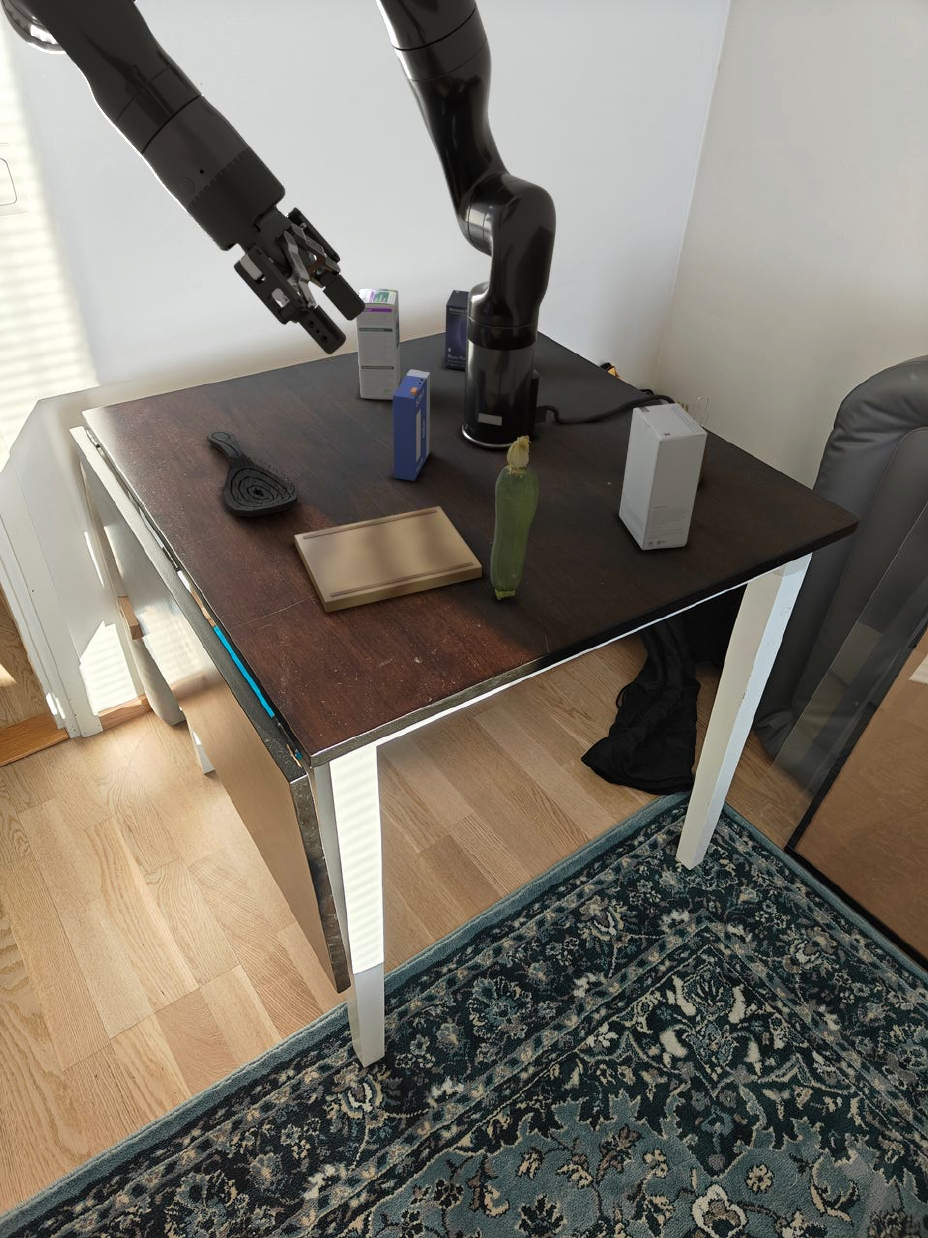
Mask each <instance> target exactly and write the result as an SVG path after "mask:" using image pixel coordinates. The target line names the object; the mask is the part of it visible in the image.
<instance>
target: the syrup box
mask: <svg viewBox="0 0 928 1238" xmlns="http://www.w3.org/2000/svg"><path fill="white" fill-rule="evenodd" d="M358 295H359V297H360V298H361V299H362V300H363V301H364V303H365V309H364V311H363V312H362V313H361V314H359V315H358V316H357V317H356V318H355V326H356V327H355V329H356V344H357V360H358V375H359V378H358V379H359V392H360V398H361V399H370V400H393V394H394V393H395V391H396V390H397V389H398V387H399V386H400V384H401V383H402V370H401V368H402V365H401V338H400V337H401V335H400V334H401V333H400V331H401V330H400V306H399V305H400V304H399V291H398V290H396V289H388V288H360V289H359V291H358Z"/></svg>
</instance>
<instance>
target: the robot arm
mask: <svg viewBox="0 0 928 1238" xmlns="http://www.w3.org/2000/svg"><path fill="white" fill-rule="evenodd" d="M374 1H375V3H376V5H377V6H376V7H377V8H378V11H379V13H380V15H381V16H380V17H381V19H382V21H383V24H384V27H385V30H386V33H387V35H388V38H389V40H390V44H391V46H392V48H393V52H394V53H395V56H396V58H397V61H398V63H399V66H400V68H401V70H402V73H403V75H404V78H405V80H406V82H407V86H408V87H409V89H410V91H411V93H412V96H413V98H414V100H415V104H416V105H417V108H418V111H419V113H420V116H421V118H422V121H423V123H424V126H425V128H426V131H427V133H428V136H429V138H430V140H431V142H432V144H433V148H434V149H435V152H436V155H437V157H438V161H439V163H440V167H441V170H442V173H443V176H444V180H445V184H446V187H447V191H448V194H449V199H450V201H451V205H452V207H453V212H454V216H455V218H456V221H457V225H458V227H459V230H460V232H461V234H462V235H463V237H464V239H465V241H467V243H468V244H469V245H470V246H471V247H473V248H474V249H475V250H477V251H478V252H481V254H484V255H486V256H489V257H491V261H490V270H489V278H488V280H487V281H483V282H479V283H477V284H475V285H474V286H472V287H471V289H470V290H469V291H468V292H469V295H468V308H467V339H466V364H465V370H464V390H463V391H464V393H463V394H464V395H463V414H462V415H463V416H462V426H461V433H462V437H463V438H464V439H465V440H466V441H467V442H468V443H470V444H472V445H474V446H476V447H478V448H482V449H488V450H509V448H510V447H511V445H512V444H514V442H515V441H517V440H518V439H517V438H520V437H522V436H529V440H530V439H531V440H532V439H534V438H535V437H534V436H535V427H536V424H539V423H546V422H547V415H548V411H549V412H552V413H553V417H554V420H555V422H557V423H558V424H561V425H569V424H585V423H590V422H594V421H597V420H602V419H605V418H609V417H612V416H614V415H616V414H618V413H620V412H622V411H623V410H625V409H627V408H629V407H632V406H635V405H640V404H643V403H647V402H652V401H655V400H663V401H666V402H667V404H675V403H676V402H675V400H674V399H673V398H671V397H670V396H669V395H666V394H653V395H648V396H644V397H641V398H636V399H632V400H629V401H626V402H624V403H622V404H620V405H619V406H617V407H615V408H613V409H611V410H609V411H606V412H602V413H598V414H594V415H591V416H587V417H583V418H579V419H565V418H562V417H560V412H559V410H558V408H557V407H555V406H554V405H550V404H547V403H546V402H545V401H544V400H543V399H542V398H541V397H540V396H539V386H540V374H539V372H538V371H536V369H535V362H536V352H537V351H536V350H537V341H538V339H537V338H538V330H539V329H538V328H539V319H540V318H539V317H540V308H541V306H542V305H541V304H542V303H543V300H544V299H545V296H546V293H547V290H548V287H549V282H550V274H551V268H552V261H553V255H554V248H555V241H556V234H557V233H556V232H557V211H556V206H555V203H554V199H553V197H552V196H551V194H550V193H549V191H548V190H546V189H545V188H544V187H542V186H541V185H538V184H537V183H534V182H531V181H528V180H526V179H523V178H520V177H518V176H515V175H513V174H511V172H510V171H509V170H508V169H507V167H506V165H505V163H504V161H503V159H502V157H501V154H500V151H499V149H498V146H497V143H496V141H495V138H494V135H493V133H492V128H491V124H490V118H489V103H490V96H491V84H492V72H493V71H492V70H493V69H492V66H493V65H492V64H493V63H492V54H491V53H492V52H491V47H490V43H489V40H488V39H489V38H488V35H487V33H486V29H485V26H484V23H483V20H482V17H481V14H480V10H479V7H478V3H477V1H476V0H374ZM136 2H137V0H0V4H1V8H2V10H3V12H4V15H5V17H6V19H7V21H8V23H9V25H10V26H11V28H12V29H13V30H14V31H15V33H16V34H17V35H18V36H19V37H20V38H21V39H22V40H23V41H25V42H26V43H27V44H28V45H30V46H31V47H33V48H35V49H37V50H40V51H42V52H45V53H49V54H55V55H56V54H57V55H59V54H60V55H62V54H63V55H64V54H66V56H67V57H68V58H69V59H70V61H71V62H72V63H73V64H74V65H75V66H76V67H77V69H78V70H79V71H80V73H81V74H82V75H83V77H84V79H85V80H86V82H87V85H88V87H89V90H90V92H91V93H90V94H91V95H92V98H93V100H94V102H95V104H96V105H97V108H99V110H100V112H101V113H102V114H103V116H104V117H105V118H106V120H108V122H109V123H110V124H111V125H112V126H113V128H115V130H116V131H117V132H118V133H119V134H120V135H121V137H123V138H124V140H125V141H126V142H127V143H128V144H129V145H130V146H131V148H132V149H133V150H134V151H135V152H136V153H137V154H138V155H139V156H140V157H141V158H142V160H143V161H144V162H145V164H146V165H147V166H148V167H149V169H150V170H151V172H152V173H153V174H154V176H155V177H156V179H157V180H158V181H159V183H160V184H161V185H162V187H163V188H164V189H165V190H166V191H167V192H168V193H169V194H170V195H171V196H172V197H173V199H174V200H175V201H176V202H177V203H178V204H179V205H180V206H181V208H182V209H183V210H184V211H185V212H186V213H187V215H189V217H191V219H192V220H193V221H194V222H195V223H196V224H197V225H198V227H200V229H201V230H202V231H203V232H204V233H205V234H206V236H208V237H209V239H210V240H211V241H212V242H213V243H214V244H215V246H217V248H218V249H219V250H221V251H222V252H228V251H230V250H232V249H233V248H234V247H235V246H236V245H238V246H239V247H240V248H241V250H242V251H243V253H244V254H243V255H242V256H241V257H240V258H239V259H238V260H237V261H236V262H235V263H234V264H233V269H234V271H235V272H236V274H237V275H238V276H239V277H240V278H241V279H242V281H243V282H244V283H245V284H246V285H247V286H248V287H249V289H250V290H251V291H252V292H253V293H254V295H256V297H257V298H258V299H259V300H260V301H261V302H262V304H263V305H264V306H265V307H266V308H267V309H268V311H269V312H270V313H271V314H272V315H273V316H274V317H275V319H276V320H277V322H279V323H280V324H281V325H284V326H286V325H287V324H289V322H292V323H293V324H295V325H296V324H298V323H299V325H300V326H301V327H302V328H303V329H304V330H305V332H306V333H307V334H308V335H309V336H310V337H311V338H312V340H313V341H315V343H316V344H317V345H318V346H319V347H320V348H321V350H323V352H324V353H325V354H327V355H333V354H334V353H335V352H337V351H338V350H339V349H340V348H341V347H342V346H344V345H345V344H346V343H345V342H346V341H347V335H346V333H344V332H343V331H342V329H341V328H340V327H339V326H338V324H336V322H335V321H334V320H333V319H332V318H331V317H330V316H329V315H328V313H327V312H326V310H324V309H323V307H321V305H320V304H317V301H316V299H315V297H314V295H313V293H312V291H311V289H310V287H309V284H310V283H312V284H314V285H315V286H316V287H318V288H320V289H323V290H322V293H323V294H324V295H325V296H326V298H327V299H328V300H329V301H330V302H331V303H332V304H333V306H334V307H335V308H336V309H337V310H338V311H339V313H340V314H341V315H342V316H343V317H344V318H345V319H346V320H347V321H349V322H352V321H353V320H356V317H357V316H358V315H359V314H361V313H362V312H363V311H364V309H365V303H364V301H363V300H362V299H361V298H360V297H359V293H357V292H356V291H355V290H354V288H353V287H352V286H351V284H350V283H348V281H347V280H346V279H345V277H344V276H343V275H342V274H340V273H341V272H342V271H341V267H340V265H339V263H340V261H341V257H340V255H339V253H338V252H337V251H336V250H335V248H333V247H332V246H331V244H330V243H329V242H328V241H327V240H326V239H325V237H323V235H322V234H321V233H320V232H319V231H318V230H317V228H316V227H315V226H314V225H313V224H312V223H311V221H310V220H309V219H308V218H307V217H306V216H305V214H304V213H303V212H302V211H301V209H300V208H298V207H293V208H292V209H291V210H290V211H289V212H287V213H286V214H284V213H283V212H282V211H281V210H280V209H278V207H277V205H278V204H279V203H280V202H281V201H282V200H283V199H284V198H285V196H286V188H285V186H284V185H283V184H282V183H281V181H280V180H279V179H278V178H277V176H276V175H275V174H274V173H273V172H272V170H271V169H270V168H269V167H268V166H267V165H266V164H265V162H264V161H263V160H262V158H261V157H260V156H259V155H258V154H257V153H256V151H255V150H254V149H253V147H251V145H250V144H249V143H248V142H247V141H246V139H245V138H244V137H243V136H242V135H241V133H240V132H239V131H238V130H237V128H236V127H235V126H234V125H233V123H231V121H230V120H229V119H228V118H227V117H226V116H225V115H224V114H223V113H222V112H221V111H220V110H219V109H218V108H216V106H214V105H213V104H212V103H211V102H210V101H209V100H208V98H206V97H205V95H203V93H202V92H201V91H200V90H199V88H198V87H197V86H196V84H195V83H193V81H192V80H191V79H190V78H189V76H188V75H187V74H186V73H185V72H184V70H183V69H182V68H181V67H180V65H178V63H177V62H176V61H175V59H174V58H173V57H172V56H171V54H169V53H168V52H167V51H166V50H165V49H164V48H163V46H162V45H161V43H159V41H158V40H157V38H156V36H155V35H154V33H153V32H152V30H151V28H150V26H149V24H148V22H147V21H146V19H145V17H144V16H143V14H142V12H141V11H140V9H139V7H138V6H137V5H136ZM279 302H280V303H279ZM280 304H281V305H280Z"/></svg>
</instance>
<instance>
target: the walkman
mask: <svg viewBox="0 0 928 1238" xmlns="http://www.w3.org/2000/svg"><path fill="white" fill-rule="evenodd" d="M430 415H431V372H430V371H422V370H421V369H420V370H419V369H412V368H411V369H409V370H408V371H407V373H406V375H405V376H404V378H403V379H402V380H401V384H400V386H399V387H398V389H397V390H396V391H395V393H394V394H393V399H392V423H393V424H392V425H393V426H392V427H393V432H392V433H393V476H394V479H400V480H405V481H413V482H415V481H416V479H417V477H418V475H419V473H420V472H421V469H422V468H423V466H424V465H425V462H426V460H427V459H428V456H429V454H430V431H431V429H430V428H431V424H430V421H431V420H430V419H431V416H430Z"/></svg>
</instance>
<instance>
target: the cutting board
mask: <svg viewBox="0 0 928 1238" xmlns="http://www.w3.org/2000/svg"><path fill="white" fill-rule="evenodd" d="M294 544H295V548H296V549H297V552H298V554H299V557H300V558H301V560H302V563H303V565H304V568H305V569H306V571H307V573H308V576H309V578H310V580H311V582H312V584H313V587H314V589H315V591H316V593H317V595H318V598H319V599H320V602H321V604H322V607H323V608H324V611H325V613H327V614H329V613H333V612H336V611H341V610H345V609H349V608H354V607H359V606H362V605H367V604H372V603H376V602H379V601H384V600H388V599H393V598H397V597H401V596H405V595H409V594H414V593H419V592H423V591H427V590H431V589H436V588H440V587H444V586H449V585H452V584H453V585H454V584H457V583H462V582H466V581H470V580H474V579H479V578H482V576H483V566H482V564H481V563H480V561H479V560H478V558H477V557H476V556H475V554H474V552H473V551H472V550H471V548H470V547H469V546H468V544H467V542H465V540H464V538H463V537H462V536H461V534H460V532H459V531H458V530H457V528H456V527H455V526H454V524H453V523H452V522H451V521H450V519H449V517H448V515H446V513H445V511H444V510H443V509H442V507H441V506H440V505H437V506H434V507H428V508H424V509H419V510H414V511H408V512H403V513H399V514H394V515H388V516H383V517H379V518H378V517H377V518H374V519H369V520H363V521H358V522H354V523H349V524H343V525H339V526H335V527H329V528H324V529H319V530H314V531H307V532H303V533H299V534H294Z"/></svg>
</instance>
